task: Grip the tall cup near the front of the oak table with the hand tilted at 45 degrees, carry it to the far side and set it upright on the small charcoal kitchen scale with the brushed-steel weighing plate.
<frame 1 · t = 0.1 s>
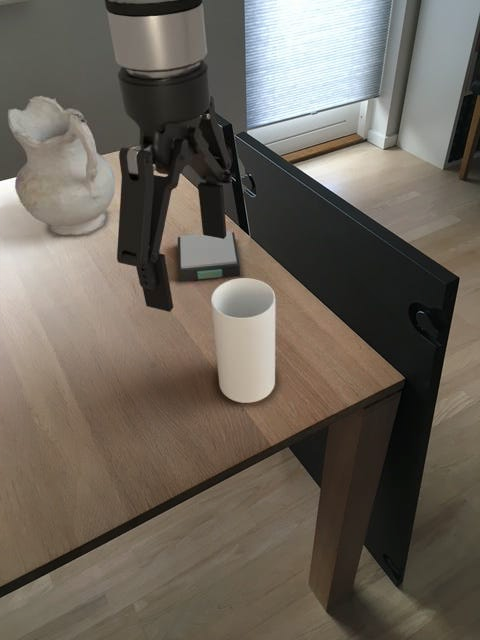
hand: (189, 268, 59), 25 cm above the table, tool pointing down, fingers open, 13 cm apart
ceramic pitcher: (82, 223, 114), on the table
scale: (208, 261, 102), on the table
cup: (247, 382, 79), on the table
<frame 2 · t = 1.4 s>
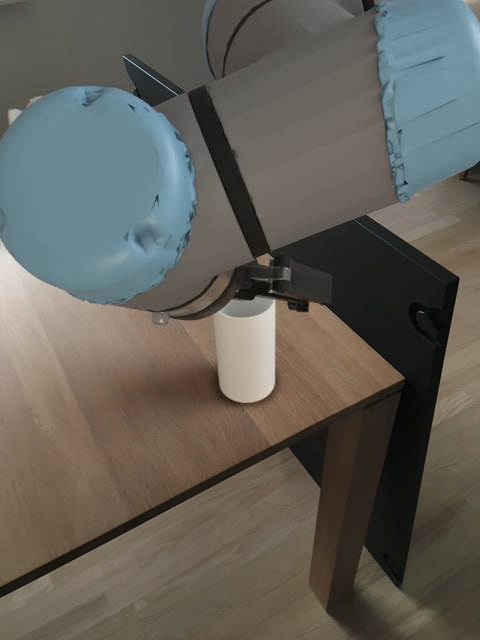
hand: (226, 292, 54), 25 cm above the table, tool tilted 45°, fingers open, 13 cm apart
nothing on the table moved.
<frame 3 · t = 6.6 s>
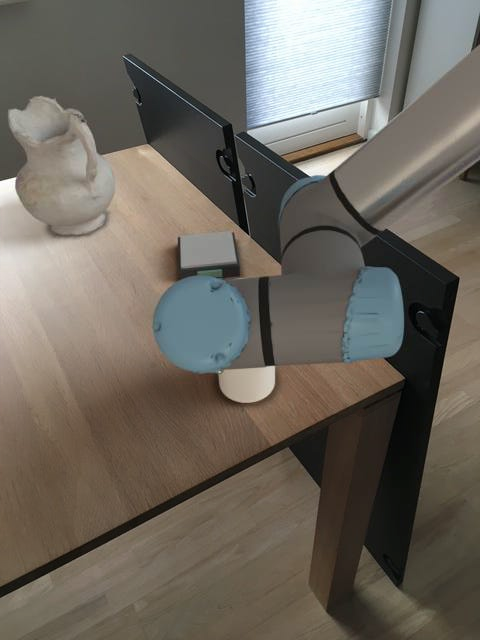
hand: (248, 335, 77), 6 cm above the table, tool tilted 45°, fingers closed on cup, 8 cm apart
cup: (247, 382, 79), on the table, touching gripper
everything else where it was.
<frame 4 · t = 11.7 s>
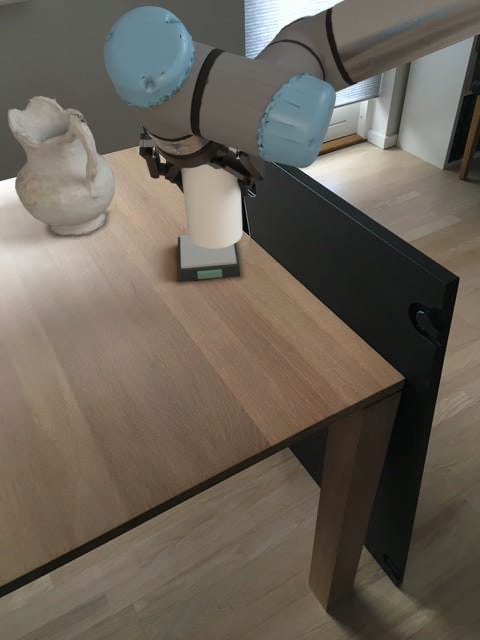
hand: (216, 186, 81), 21 cm above the table, tool tilted 45°, fingers closed on cup, 8 cm apart
cup: (215, 234, 82), point 14 cm above the table, touching gripper
everything else where it was.
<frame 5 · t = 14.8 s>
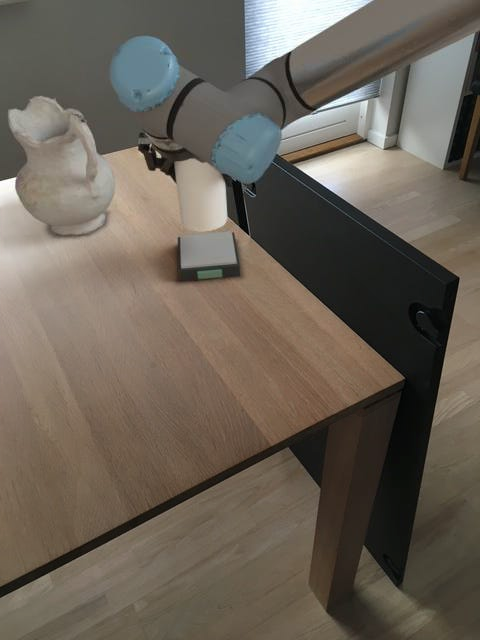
hand: (204, 178, 94), 15 cm above the table, tool tilted 45°, fingers closed on cup, 8 cm apart
cup: (204, 220, 96), point 9 cm above the table, touching gripper
everything else where it was.
when the fingers open (9 cm above the table, at t = 17.0 s): cup stays where it is, resting on scale.
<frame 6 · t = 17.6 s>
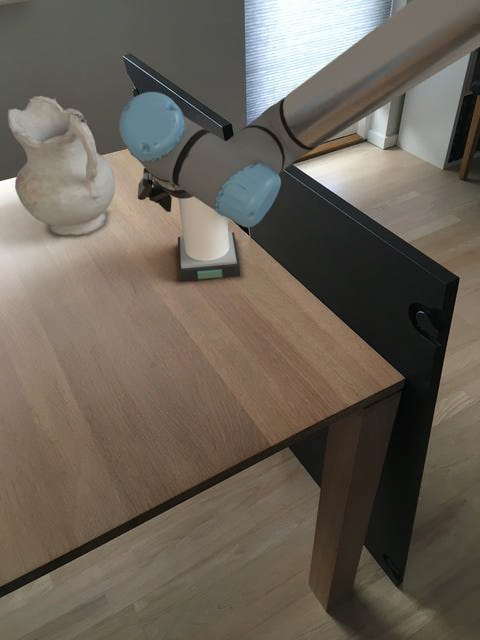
hand: (206, 205, 97), 11 cm above the table, tool tilted 45°, fingers open, 13 cm apart
cup: (207, 248, 100), point 3 cm above the table, touching scale
everything else where it was.
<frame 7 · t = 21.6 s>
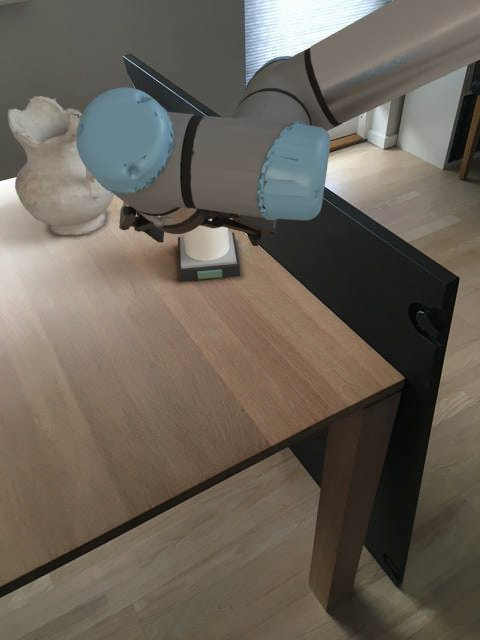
hand: (208, 234, 76), 18 cm above the table, tool tilted 45°, fingers open, 13 cm apart
nothing on the table moved.
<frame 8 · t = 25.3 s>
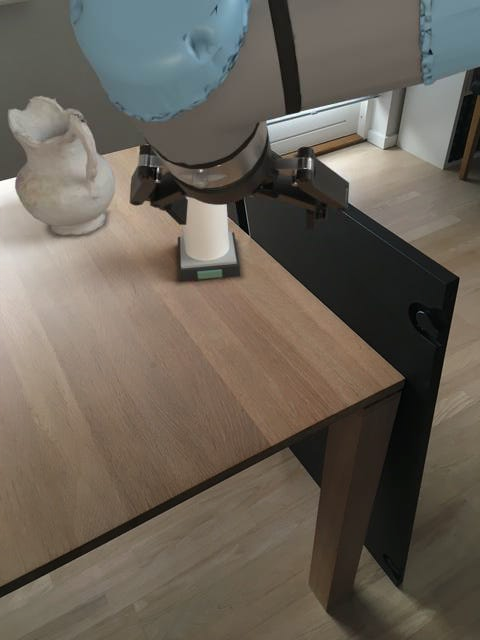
hand: (246, 214, 57), 30 cm above the table, tool tilted 45°, fingers open, 13 cm apart
nothing on the table moved.
at the end: cup inside the target area on the scale (0.0 cm from its centre), point 2.8 cm above the scale's base; cup tilted 0°; the gripper is holding nothing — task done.
